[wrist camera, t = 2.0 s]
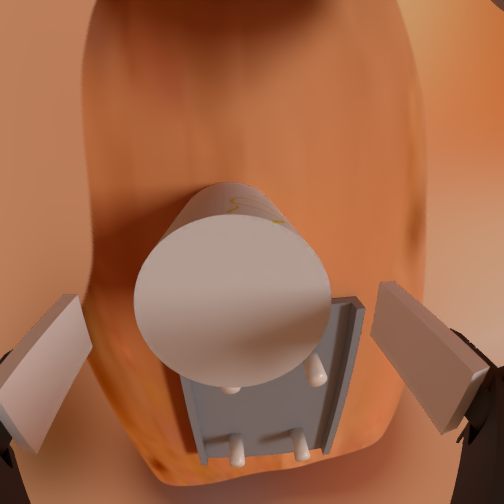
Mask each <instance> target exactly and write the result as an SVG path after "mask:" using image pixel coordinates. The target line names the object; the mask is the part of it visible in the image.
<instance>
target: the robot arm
mask: <svg viewBox="0 0 504 504" xmlns="http://www.w3.org/2000/svg"><path fill="white" fill-rule="evenodd" d="M491 1H492V2H493V3H494V4H495V5H496V6H498V7H499V8H500V9H501V10H503V11H504V0H491ZM370 335H371V337H372V338H373V339H374V341H375V342H376V343H377V345H378V346H379V347H380V349H381V350H382V352H383V353H384V354H385V356H386V357H387V358H388V360H389V361H390V362H391V364H392V365H393V367H394V368H395V369H396V371H397V372H398V373H399V375H400V376H401V378H402V379H403V380H404V382H405V383H406V385H407V386H408V387H409V389H410V390H411V392H412V393H413V395H414V396H415V397H416V399H417V400H418V402H419V403H420V405H421V406H422V407H423V409H424V410H425V412H426V413H427V415H428V416H429V418H430V419H431V421H432V422H433V423H434V425H435V426H436V428H437V429H438V431H439V432H440V434H441V435H442V434H444V433H447V432H449V431H451V430H453V429H456V428H457V427H458V426H459V424H460V422H461V421H462V419H463V417H464V416H465V417H466V418H467V420H468V421H469V422H468V423H467V425H466V427H465V428H464V430H463V431H462V433H461V434H460V436H459V437H458V439H457V442H456V443H459V442H460V440H461V439H462V437H464V440H463V447H462V453H461V459H460V464H459V469H458V474H457V478H456V483H455V487H454V492H453V495H452V499H451V503H450V504H504V366H502V367H499V368H497V366H495V365H494V364H493V363H492V362H491V361H490V360H489V359H488V358H487V357H486V356H485V355H484V354H483V353H482V352H481V351H479V349H478V348H476V347H475V346H474V345H473V344H472V343H469V340H468V339H467V338H465V337H464V336H463V335H462V334H461V333H459V332H457V331H455V330H453V329H451V328H450V329H449V328H448V327H447V326H446V325H445V324H444V323H443V322H441V321H440V320H439V319H438V318H437V317H436V316H435V315H433V314H432V313H431V312H430V311H429V310H428V309H427V308H425V307H424V306H423V305H422V304H421V303H420V302H419V301H417V300H416V299H415V298H414V297H413V296H411V295H410V294H409V293H408V292H407V291H406V290H404V289H403V288H402V287H401V286H400V285H398V284H397V283H396V282H395V281H389V282H380V284H379V291H378V297H377V303H376V308H375V314H374V319H373V324H372V329H371V334H370ZM91 349H92V344H91V341H90V337H89V334H88V331H87V327H86V324H85V320H84V317H83V313H82V309H81V305H80V301H79V297H78V295H74V294H72V295H71V294H70V295H69V294H67V295H66V294H64V295H63V296H62V297H61V298H60V299H59V300H58V301H57V302H56V303H55V304H54V305H53V306H52V307H51V308H50V309H49V310H48V311H47V312H46V314H45V315H44V316H43V317H42V318H41V319H40V320H39V321H38V322H37V323H36V324H35V325H34V326H33V327H32V329H31V330H30V331H29V332H28V333H27V334H26V335H25V336H24V337H23V339H22V340H21V341H20V342H19V343H18V344H17V346H16V347H15V348H14V349H12V350H11V351H9V352H8V353H6V354H5V355H4V356H3V357H2V358H1V360H0V504H31V503H30V500H29V498H28V495H27V492H26V490H25V487H24V484H23V481H22V478H21V475H20V472H19V468H18V465H17V462H16V458H15V455H14V451H13V449H12V447H11V446H10V445H9V444H10V442H11V440H12V438H13V440H14V441H15V442H16V444H17V445H18V446H19V448H21V449H22V450H25V451H27V452H30V453H33V454H36V455H37V453H38V451H39V449H40V447H41V445H42V442H43V440H44V438H45V436H46V434H47V432H48V430H49V428H50V425H51V424H52V421H53V419H54V417H55V415H56V413H57V411H58V409H59V407H60V405H61V403H62V401H63V400H64V398H65V396H66V394H67V392H68V390H69V388H70V386H71V385H72V383H73V381H74V379H75V377H76V375H77V374H78V372H79V370H80V368H81V366H82V365H83V362H84V361H85V359H86V358H87V356H88V354H89V352H90V351H91Z"/></svg>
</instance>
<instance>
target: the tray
mask: <svg viewBox="0 0 504 504" xmlns="http://www.w3.org/2000/svg"><path fill="white" fill-rule="evenodd" d="M364 314H365V307H364V306H363V304H362V303H361V302H360V301H359V299H358V298H357V297H356V296H355V297H344V298H332V299H331V312H330V317H329V321H328V325H327V327H326V330H325V332H324V334H323V336H322V338H321V340H320V342H319V343H318V345H317V346H316V347H315V349H314V350H313V351H312V353H311V354H310V355H309V356H308V357H307V358H306V359H305V360H304V361H303V362H302V363H300V364H299V365H298V366H297V367H295V368H294V369H292V370H291V371H289V372H288V373H286V374H284V375H282V376H280V377H278V378H276V379H274V380H271V381H268V382H265V383H262V384H258V385H254V386H248V387H237V388H226V387H216V386H210V385H206V384H202V383H199V382H196V381H193V380H190V379H188V378H186V377H184V376H182V375H180V379H181V384H182V389H183V393H184V398H185V402H186V407H187V411H188V415H189V419H190V423H191V427H192V431H193V435H194V439H195V443H196V447H197V450H198V454H199V458H200V461H201V465H208V458H220V457H229V458H230V465H231V466H232V467H242V466H244V465H245V458H244V457H247V456H261V455H273V454H282V453H291V452H294V455H295V459H296V461H305V460H307V459H309V458H310V454H309V450H312V449H318V448H321V450H322V453H323V455H325V454H329V453H330V450H331V447H332V444H333V440H334V437H335V434H336V431H337V428H338V424H339V421H340V417H341V414H342V410H343V407H344V403H345V399H346V396H347V392H348V388H349V384H350V380H351V376H352V372H353V368H354V363H355V359H356V354H357V350H358V345H359V340H360V335H361V330H362V325H363V319H364Z"/></svg>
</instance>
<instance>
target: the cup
mask: <svg viewBox="0 0 504 504" xmlns="http://www.w3.org/2000/svg"><path fill="white" fill-rule="evenodd" d="M134 311H135V317H136V321H137V324H138V328H139V330H140V332H141V335H142V337H143V339H144V340H145V342H146V344H147V345H148V347H149V348H150V349H151V351H152V352H153V353H154V354H155V355H156V356H157V357H158V358H159V359H160V360H161V361H162V362H163V363H164V364H165V365H166V366H168V367H169V368H170V369H172V370H173V371H175V372H176V373H178V374H180V375H182V376H184V377H186V378H188V379H190V380H193V381H196V382H199V383H202V384H206V385H210V386H216V387H226V388H237V387H248V386H254V385H258V384H262V383H265V382H268V381H271V380H274V379H276V378H278V377H280V376H282V375H284V374H286V373H288V372H289V371H291V370H292V369H294V368H295V367H297V366H298V365H299V364H300V363H302V362H303V361H304V360H305V359H306V358H307V357H308V356H309V355H310V354H311V353H312V351H313V350H314V349H315V347H316V346H317V345H318V343H319V342H320V340H321V338H322V336H323V334H324V332H325V330H326V327H327V325H328V321H329V317H330V312H331V288H330V283H329V279H328V276H327V273H326V271H325V268H324V266H323V264H322V262H321V261H320V259H319V257H318V256H317V255H316V253H315V252H314V251H313V249H312V248H311V247H310V246H309V245H308V243H307V242H306V241H305V240H304V239H303V238H302V236H301V235H300V234H299V233H298V232H297V231H296V229H295V228H294V227H293V226H292V225H291V224H290V222H289V221H288V220H287V219H286V218H285V217H284V215H283V214H282V213H281V212H280V211H279V210H278V209H277V207H276V206H275V205H274V204H273V203H272V202H271V201H270V199H269V198H268V197H267V196H266V195H264V194H263V193H262V192H261V191H259V190H257V189H256V188H254V187H252V186H249V185H246V184H243V183H237V182H223V183H217V184H214V185H211V186H208V187H206V188H204V189H202V190H201V191H199V192H198V193H197V194H195V195H194V196H193V197H192V198H191V199H190V200H189V201H188V203H187V204H186V205H185V207H184V208H183V209H182V211H181V212H180V213H179V215H178V216H177V217H176V219H175V220H174V221H173V223H172V224H171V225H170V227H169V228H168V229H167V231H166V232H165V233H164V235H163V236H162V237H161V239H160V240H159V242H158V243H157V244H156V246H155V247H154V249H153V250H152V251H151V253H150V254H149V256H148V257H147V259H146V260H145V262H144V264H143V265H142V268H141V270H140V272H139V275H138V278H137V281H136V285H135V291H134Z"/></svg>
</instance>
